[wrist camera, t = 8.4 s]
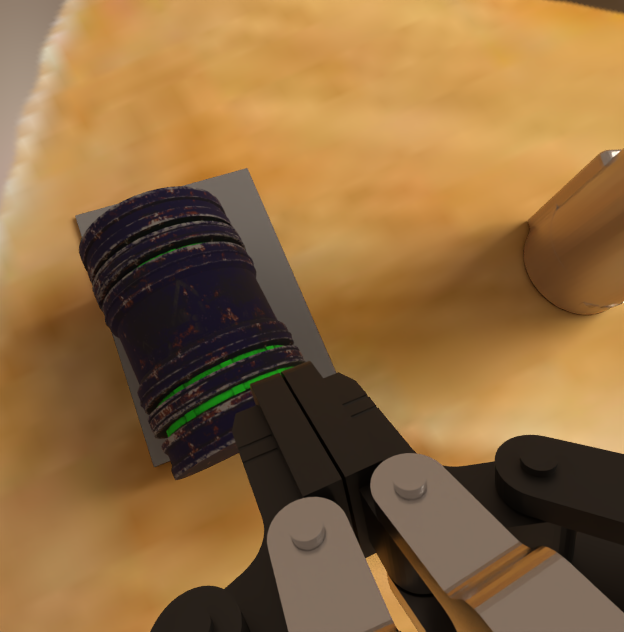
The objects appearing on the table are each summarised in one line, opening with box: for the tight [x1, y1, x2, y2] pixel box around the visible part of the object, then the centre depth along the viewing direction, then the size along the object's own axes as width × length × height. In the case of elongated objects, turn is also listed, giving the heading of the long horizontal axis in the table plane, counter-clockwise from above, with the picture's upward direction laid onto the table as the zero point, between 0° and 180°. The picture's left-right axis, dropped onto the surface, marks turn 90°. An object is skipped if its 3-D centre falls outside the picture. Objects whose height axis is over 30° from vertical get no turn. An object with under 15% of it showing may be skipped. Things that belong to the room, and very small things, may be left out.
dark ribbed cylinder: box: [79, 186, 306, 480], centre depth 30 cm, size 10×10×15 cm
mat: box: [75, 168, 336, 467], centre depth 36 cm, size 20×14×1 cm
